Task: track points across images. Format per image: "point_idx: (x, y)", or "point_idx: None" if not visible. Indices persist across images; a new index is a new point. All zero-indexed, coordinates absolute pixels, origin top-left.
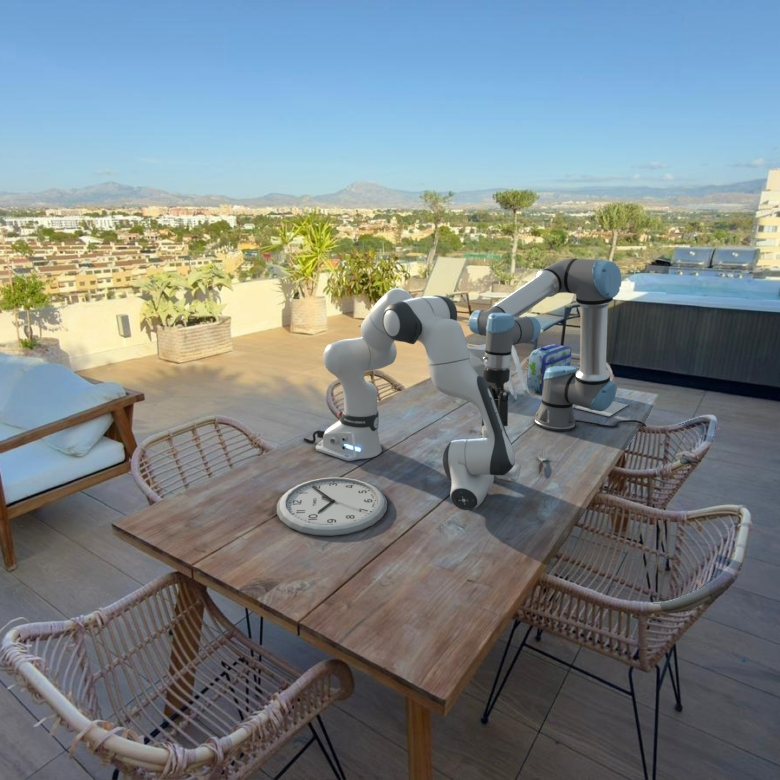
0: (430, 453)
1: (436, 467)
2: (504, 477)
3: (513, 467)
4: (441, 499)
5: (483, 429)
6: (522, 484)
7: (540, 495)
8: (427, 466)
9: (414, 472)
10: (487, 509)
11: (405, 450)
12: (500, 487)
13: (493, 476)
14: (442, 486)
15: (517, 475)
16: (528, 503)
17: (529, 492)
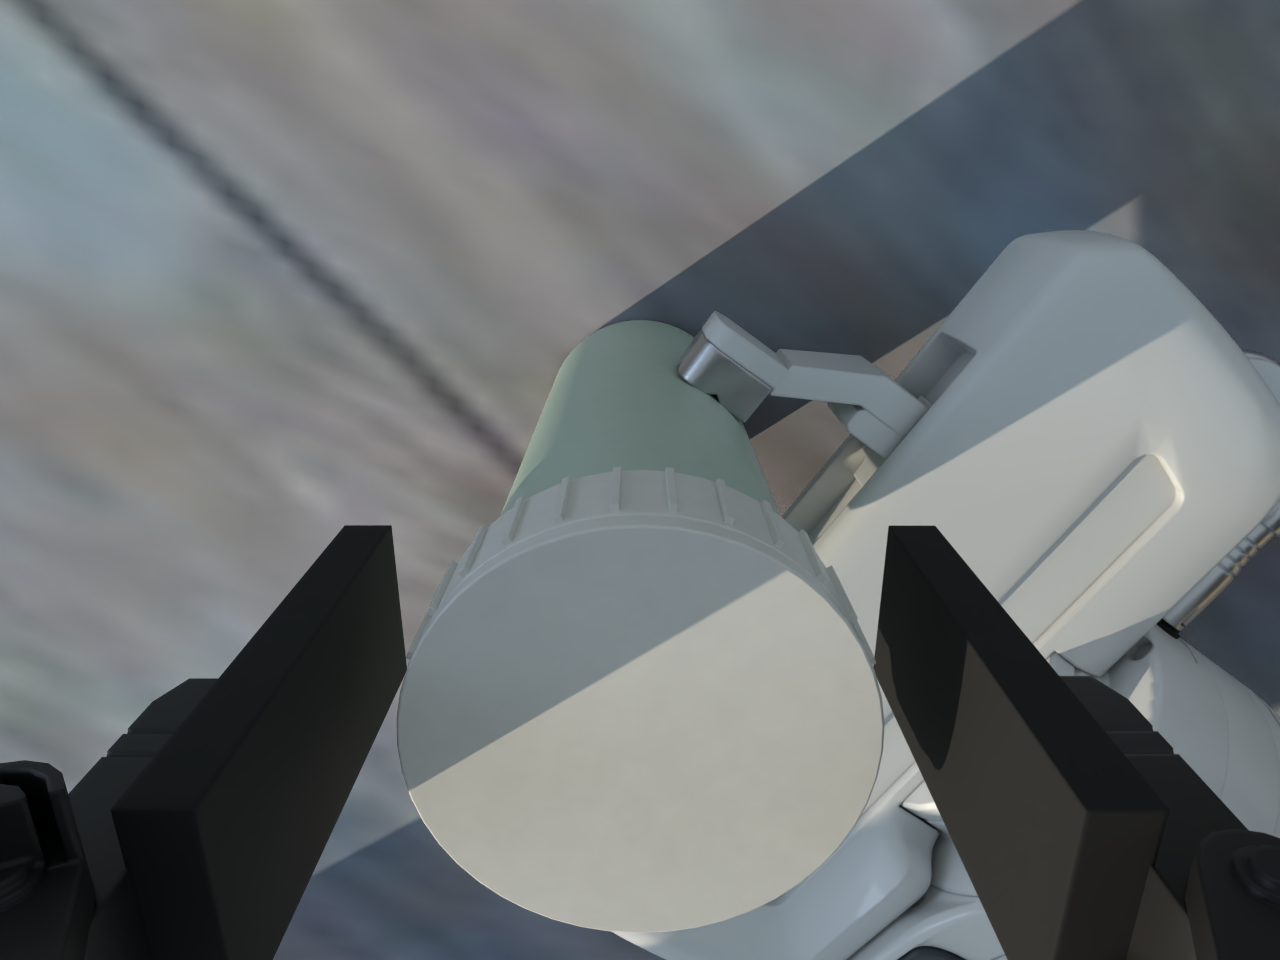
0: (88, 764)
1: (397, 790)
2: (1251, 544)
3: (1199, 394)
4: None
5: (681, 925)
6: (902, 114)
7: (1189, 24)
8: (371, 848)
9: (474, 954)
10: (1208, 638)
11: None
12: None
13: (1218, 674)
14: None
15: (1266, 363)
16: (1275, 245)
17: (1087, 122)
